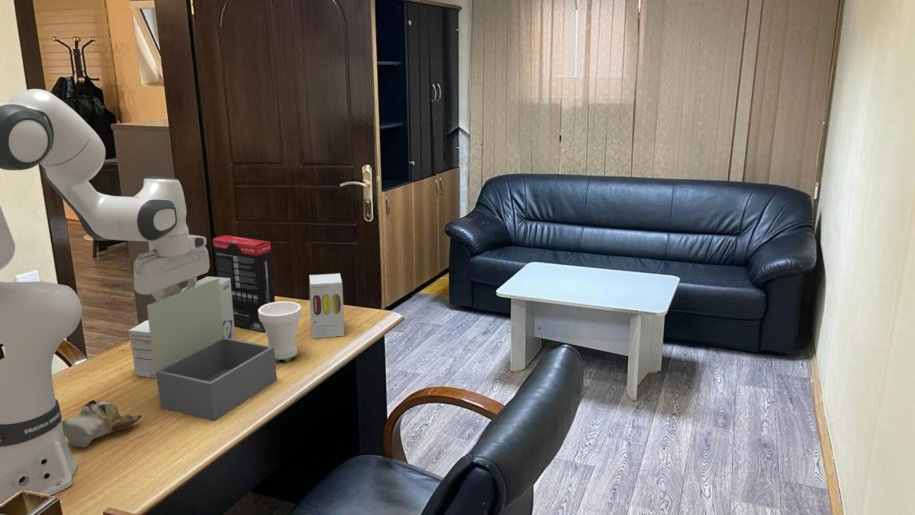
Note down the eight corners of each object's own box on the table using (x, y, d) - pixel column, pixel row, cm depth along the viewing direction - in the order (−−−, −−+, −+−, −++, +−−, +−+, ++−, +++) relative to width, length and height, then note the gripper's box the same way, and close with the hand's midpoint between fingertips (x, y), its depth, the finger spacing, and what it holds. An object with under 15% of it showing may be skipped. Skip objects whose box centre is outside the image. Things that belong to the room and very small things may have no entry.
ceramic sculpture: (44, 408, 138) (108, 382, 152) (48, 446, 140) (111, 417, 154) (79, 419, 134) (142, 391, 147) (83, 459, 136) (145, 428, 149)
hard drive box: (207, 367, 177) (199, 295, 172) (180, 364, 179) (172, 293, 173) (237, 343, 192) (230, 277, 187) (212, 341, 194) (205, 275, 188)
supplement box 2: (312, 339, 195) (308, 284, 191) (311, 327, 204) (307, 274, 199) (345, 336, 197) (342, 281, 193) (343, 325, 206) (340, 272, 201)
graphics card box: (279, 326, 205) (272, 239, 198) (263, 334, 199) (256, 244, 192) (235, 317, 212) (227, 233, 205) (219, 325, 206) (210, 238, 198)
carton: (214, 420, 151) (210, 384, 148) (160, 407, 157) (155, 371, 154) (276, 380, 170) (274, 347, 168) (226, 369, 176) (223, 337, 174)
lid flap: (148, 302, 149) (131, 298, 151) (155, 371, 154) (138, 366, 156) (218, 274, 169) (202, 271, 171) (223, 337, 174) (207, 333, 175)
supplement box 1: (152, 363, 179) (146, 319, 176) (177, 366, 178) (172, 321, 174) (134, 376, 172) (127, 329, 169) (160, 378, 171) (154, 332, 167)
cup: (296, 345, 191) (292, 298, 187) (310, 359, 182) (307, 310, 178) (256, 354, 185) (252, 306, 181) (269, 369, 176) (265, 318, 172)
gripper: (144, 257, 147) (152, 317, 151) (211, 236, 165) (216, 290, 169) (122, 254, 149) (131, 313, 153) (191, 234, 168) (197, 287, 171)
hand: (176, 301), depth 161 cm, fingers open, 7 cm apart
